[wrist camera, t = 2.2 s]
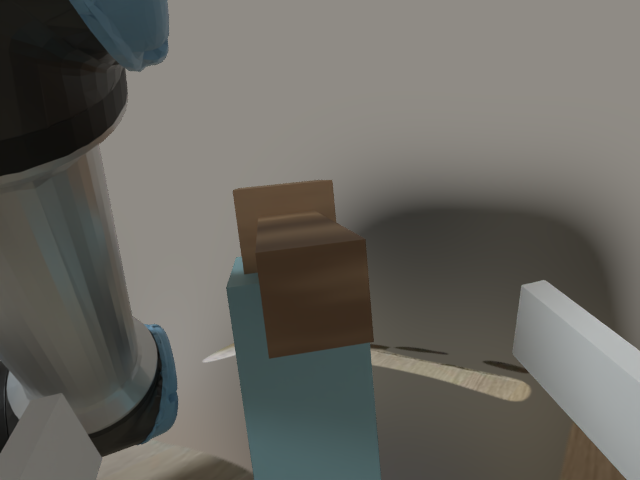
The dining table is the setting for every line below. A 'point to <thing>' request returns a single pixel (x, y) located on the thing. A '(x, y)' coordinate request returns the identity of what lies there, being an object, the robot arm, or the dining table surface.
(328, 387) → the stand
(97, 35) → the robot arm
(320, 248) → the brown wooden block
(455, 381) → the dining table surface
